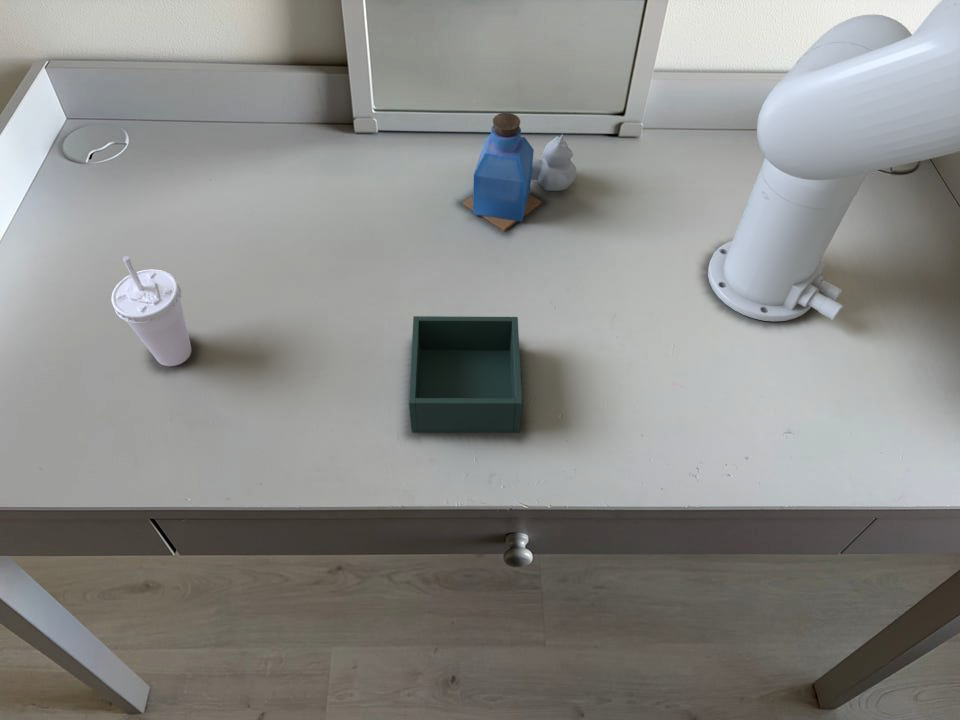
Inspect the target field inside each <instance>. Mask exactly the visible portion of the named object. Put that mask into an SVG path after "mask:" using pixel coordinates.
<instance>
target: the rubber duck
mask: <svg viewBox="0 0 960 720" xmlns="http://www.w3.org/2000/svg"><path fill="white" fill-rule="evenodd" d="M573 157H574V152H573V151H572V149H571V148H569V145H568V143H567V141H566V140H564V134H563V133H562V134H561V135H560V136H559V135H557V136H555V137H554V138H553V139H551V140H550V141H549V142H548V143H547V144H546V146H545V147H544V150H543V152H542V157H541V158H534V157H533V163H532V174H531V181H537V182H538V183H539V184H540V186H541V187H542V188H543V189H544V190H545V191H547V192H548V191H549V192H559V191H564V190H566V189H568V188H569V187H570V186H571V185H572V184H573V183H574V181H575V180H576V177H577V173H578V172H577V171H578V170H577V167H576V165H575V164H574V162H573V161H572V160H571V159H572V158H573Z"/></svg>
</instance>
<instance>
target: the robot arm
mask: <svg viewBox="0 0 960 720" xmlns="http://www.w3.org/2000/svg"><path fill="white" fill-rule="evenodd" d="M757 117H758V118H757V123H756V137H757V142H758V145H759V148H760V151H761V152H762V154H763V156H764V160H763V163H762V164H761V167H760V169H759V172H758V174H757V177H756V180H755V183H754V185H753V186H752V187H753V188H752V189H751V193H750V196H749V198H748V200H747V204H746V206H745V208H744V211H743V214H742V216H741V218H740V221H739V224H738V226H737V229H736V231H735V234H734V236H733V239H732V240H730V241H728V242H725V243H724V244H722V245H721V246H719V247H718V248H717V249H716V250H715V252H713V254H712V256H711V258H710V261H709V264H708V268H707V277H708V282H709V284H710V286H711V289H712V291H713V292H714V293H715V295H716V296H717V298H719V300H721V301H722V303H723V304H725V305H727V306H728V307H729V308H731V309H732V310H733V311H735V312H737V313H739V314H741V315H743V316H746V317H748V318H752V319H754V320H759V321H765V322H786V321H791V320H794V319H796V318H799V317H801V316H803V315H804V314H806V313H807V312H808V311H809V310H810V309H811V308H813V309H815V310H816V311H818V314H820V315H823V316H824V317H826V318H828V319H830V320H831V321H834V320H835V319H836V318H837V316H838V315H839V314H840V312H841V310H842V309H843V307H844V305H843V304H841V303H840V302H838V301H836V300H837V298H838V297H839V296H840V295H841V293H842V291H843V289H842V288H840V287H838V286H836V285H835V284H833V283H830V282H828V281H826V280H825V276H823V275H821V274H822V272H823V270H824V269H825V266H826V264H827V263H826V262H824V261H822V259H823V257H824V255H825V253H826V251H827V250H828V247H829V245H830V243H831V242H832V241H833V240H832V239H834V236H835V234H836V232H837V230H838V229H839V226H840V224H841V223H842V220H843V219H844V217H845V215H846V213H847V211H848V210H849V207H850V206H851V204H852V202H853V200H854V198H855V197H856V196H857V193H858V191H859V190H860V188H861V186H862V184H863V182H864V181H865V178H866V176H867V175H868V173H872V172H876V171H882V170H886V169H890V168H895V167H899V166H900V167H901V166H904V165H909V164H913V163H919V162H922V161H926V160H931V159H936V158H939V157H943V156H947V155H951V154H952V155H953V154H955V153H958V152H960V0H941V1H939V3H938V4H936V5H935V6H934V8H933V9H932V10H931V11H930V12H929V14H928V15H927V16H926V18H924V20H923V21H922V22H921V23H920V25H919V26H918V27H917V28H916V30H915V31H914V32H913V33H911V31H910V30H909V29H908V28H907V27H906V26H905V25H904V24H903V23H901V22H899V21H898V20H896V19H894V18H892V17H889V16H887V15H883V14H861V15H856V16H853V17H850V18H848V19H845V20H843V21H841V22H839V23H837V24H836V25H834V26H832V27H831V28H830V29H828V30H827V31H826V32H825V33H824V34H822V35H820V37H819V38H818V39H817V40H816V41H814V43H813V44H812V45H811V46H809V48H807V50H806V51H805V52H804V53H803V54H802V55H801V56H800V58H799V59H798V60H797V61H796V62H795V64H794V65H793V66H792V67H791V68H790V69H789V70H788V71H787V73H786V74H785V75H783V76H782V78H781V79H780V80H779V81H778V83H777V84H776V85H775V86H773V88H772V89H771V91H770V93H768V95H767V97H766V99H765V100H764V101H763V104H762V106H761V107H760V111H759V114H758V116H757ZM822 293H823V294H822Z"/></svg>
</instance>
